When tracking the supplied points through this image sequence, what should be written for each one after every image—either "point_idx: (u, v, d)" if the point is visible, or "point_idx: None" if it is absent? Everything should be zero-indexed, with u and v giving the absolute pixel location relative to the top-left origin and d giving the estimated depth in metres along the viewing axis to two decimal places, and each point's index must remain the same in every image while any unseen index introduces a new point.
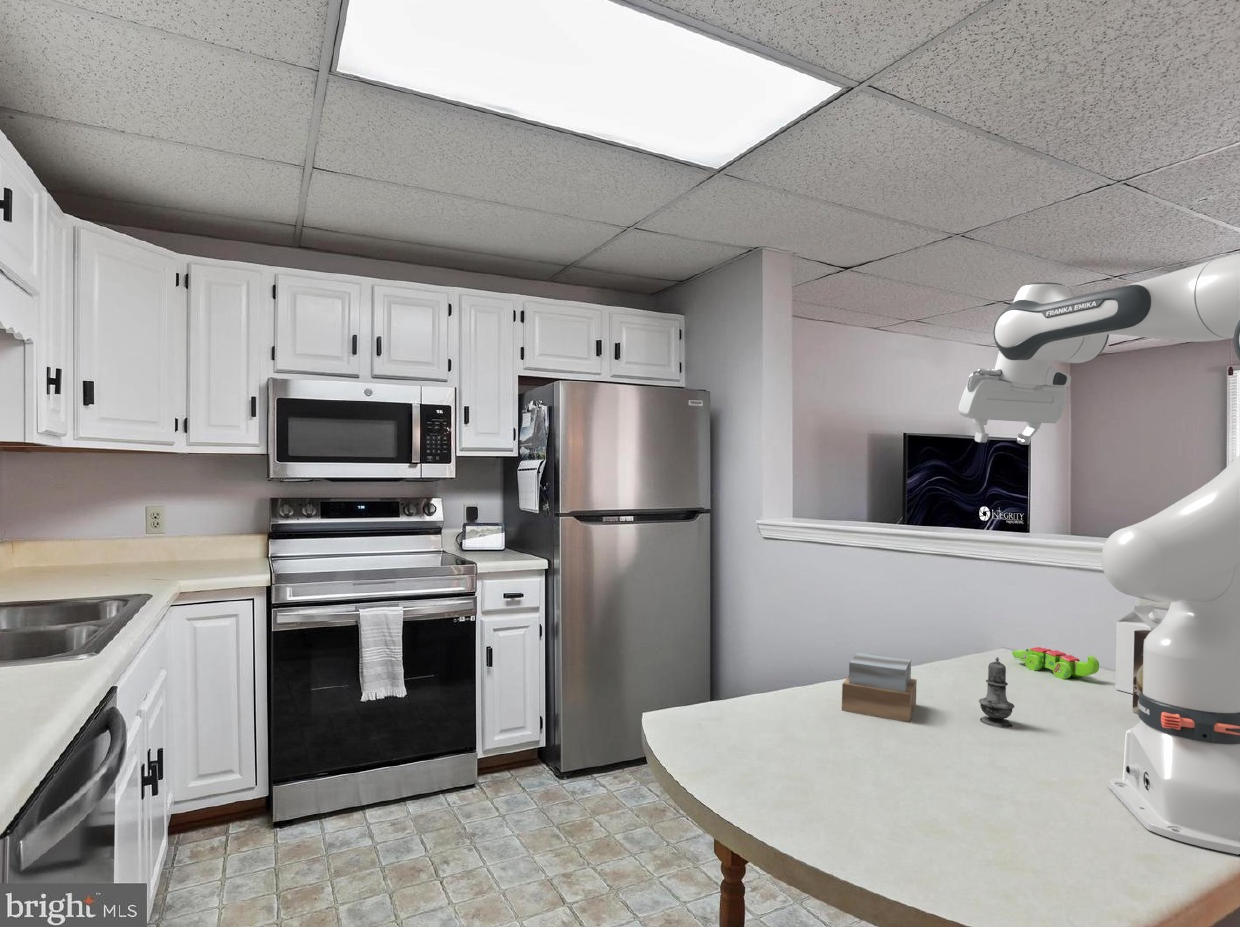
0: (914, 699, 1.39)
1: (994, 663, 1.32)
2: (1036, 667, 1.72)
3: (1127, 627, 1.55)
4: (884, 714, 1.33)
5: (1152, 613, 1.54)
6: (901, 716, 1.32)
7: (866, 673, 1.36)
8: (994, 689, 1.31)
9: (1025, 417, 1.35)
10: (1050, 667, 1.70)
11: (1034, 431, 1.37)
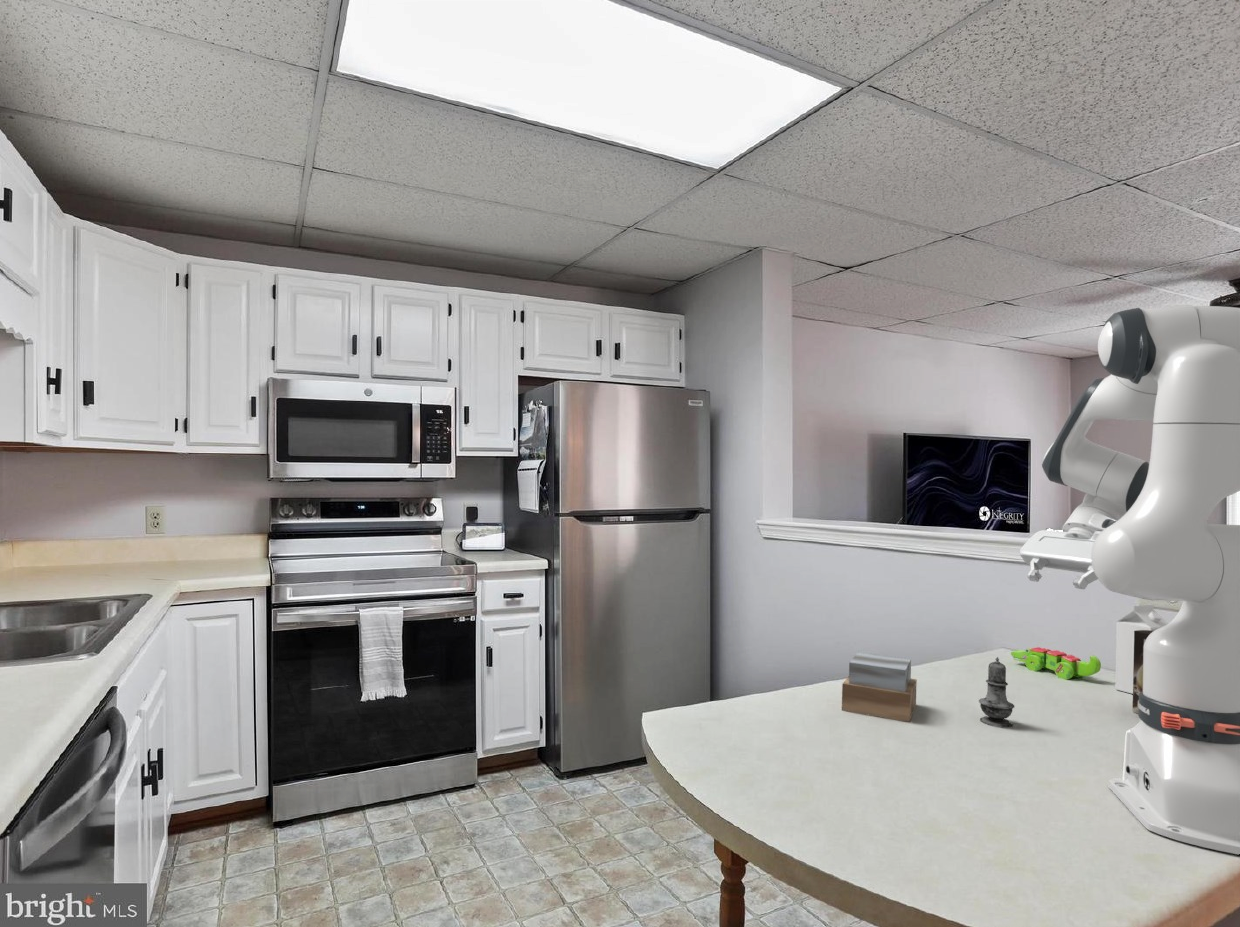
0: (914, 699, 1.39)
1: (994, 663, 1.32)
2: (1037, 667, 1.71)
3: (1127, 627, 1.55)
4: (884, 714, 1.33)
5: (1152, 613, 1.54)
6: (901, 716, 1.32)
7: (866, 673, 1.36)
8: (994, 689, 1.31)
9: (1074, 556, 1.38)
10: (1051, 667, 1.70)
11: (1087, 572, 1.34)
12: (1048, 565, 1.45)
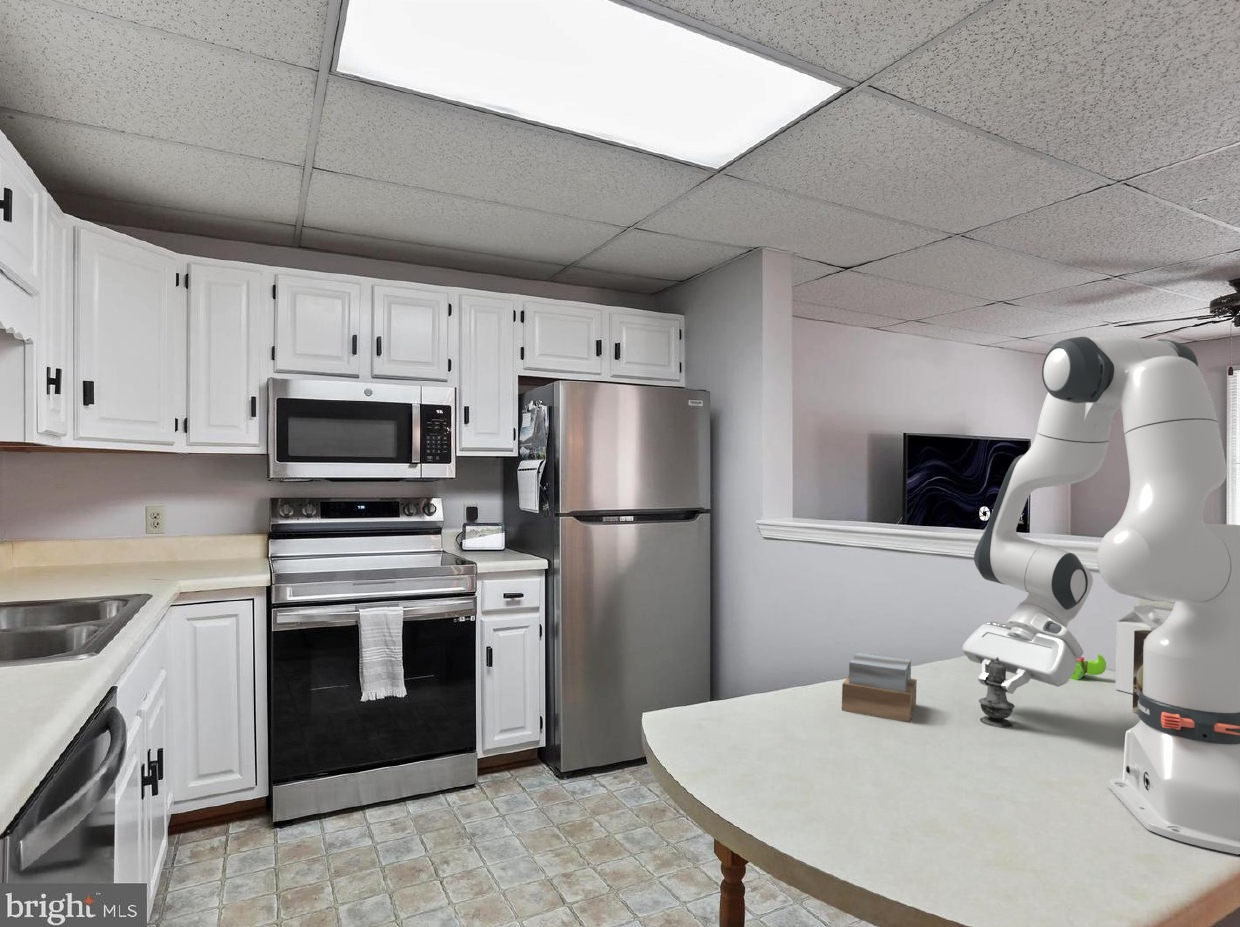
0: (914, 699, 1.39)
1: (994, 663, 1.32)
2: None
3: (1127, 627, 1.55)
4: (884, 714, 1.33)
5: (1152, 613, 1.54)
6: (901, 716, 1.32)
7: (866, 673, 1.36)
8: (995, 689, 1.31)
9: (1015, 660, 1.32)
10: None
11: (1016, 676, 1.30)
12: None
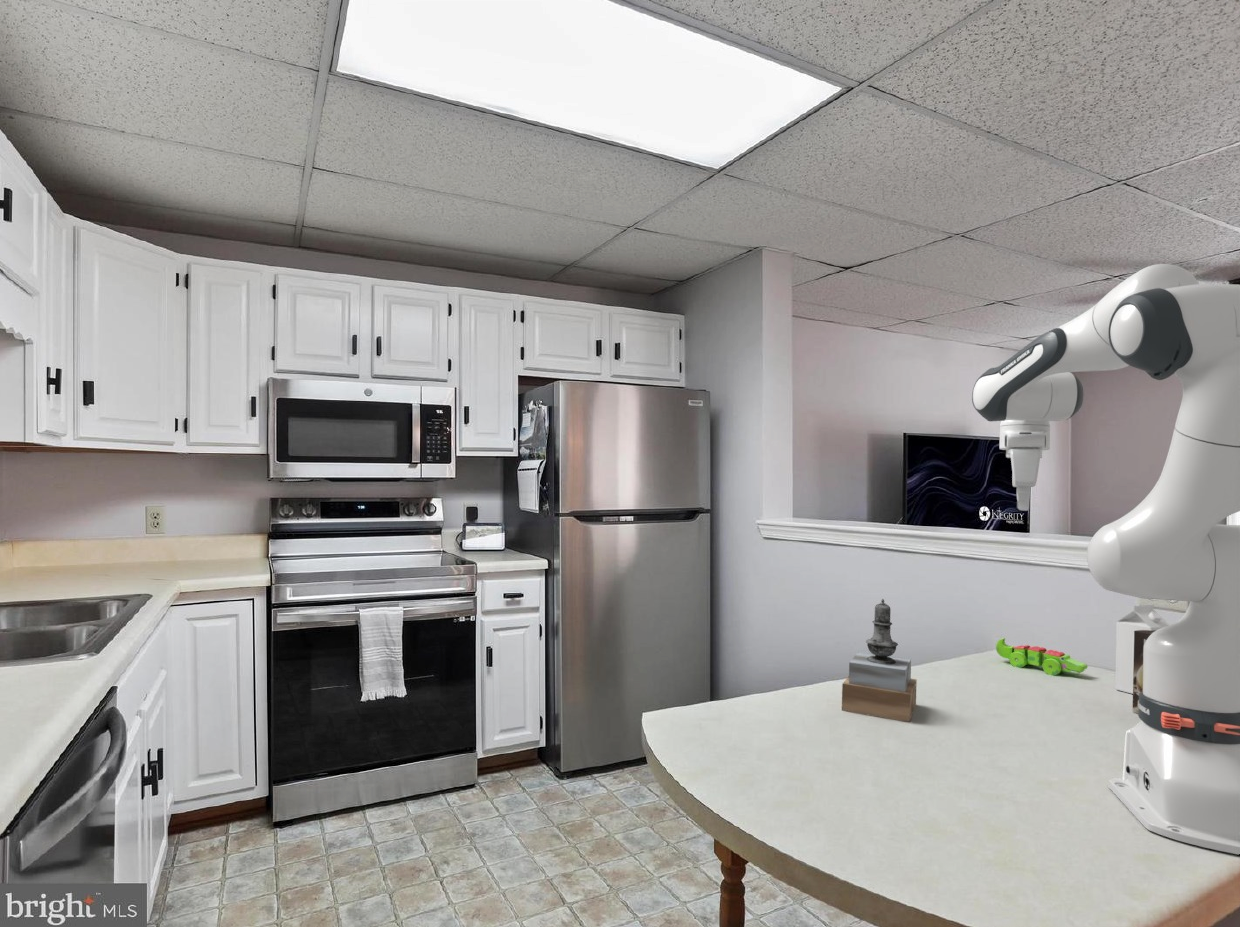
0: (914, 699, 1.39)
1: (880, 604, 1.39)
2: None
3: (1127, 627, 1.55)
4: (884, 714, 1.33)
5: (1152, 613, 1.54)
6: (901, 716, 1.32)
7: (866, 673, 1.36)
8: (879, 629, 1.38)
9: None
10: None
11: (1018, 495, 1.39)
12: None
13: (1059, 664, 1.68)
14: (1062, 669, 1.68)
